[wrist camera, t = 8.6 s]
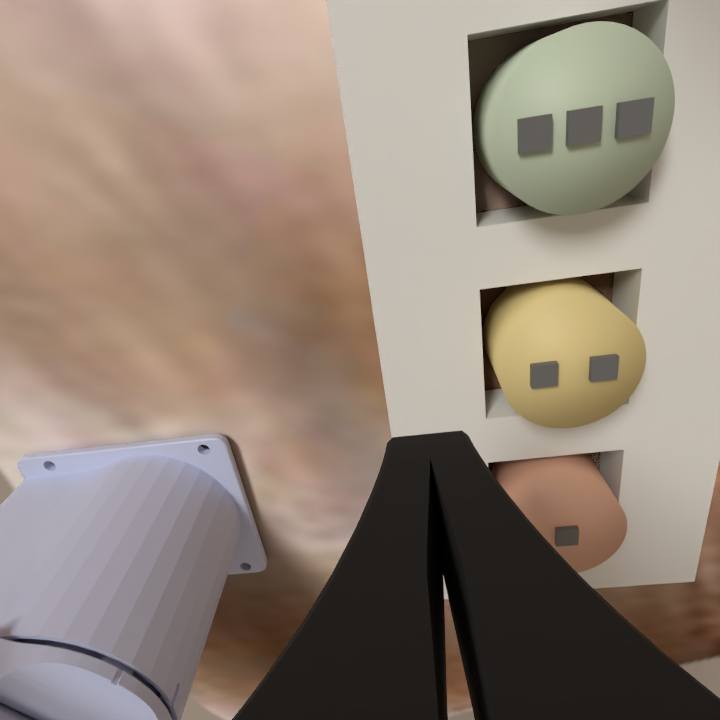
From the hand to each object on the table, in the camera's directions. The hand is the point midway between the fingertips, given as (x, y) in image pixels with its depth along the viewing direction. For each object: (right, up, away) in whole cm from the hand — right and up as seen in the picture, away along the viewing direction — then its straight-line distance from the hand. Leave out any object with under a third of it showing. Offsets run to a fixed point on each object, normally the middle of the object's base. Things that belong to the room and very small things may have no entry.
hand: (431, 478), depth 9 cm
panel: (+5, +3, +10) cm, 12 cm away
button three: (+4, +10, +6) cm, 12 cm away
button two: (+5, +3, +9) cm, 11 cm away
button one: (+6, -3, +13) cm, 14 cm away
